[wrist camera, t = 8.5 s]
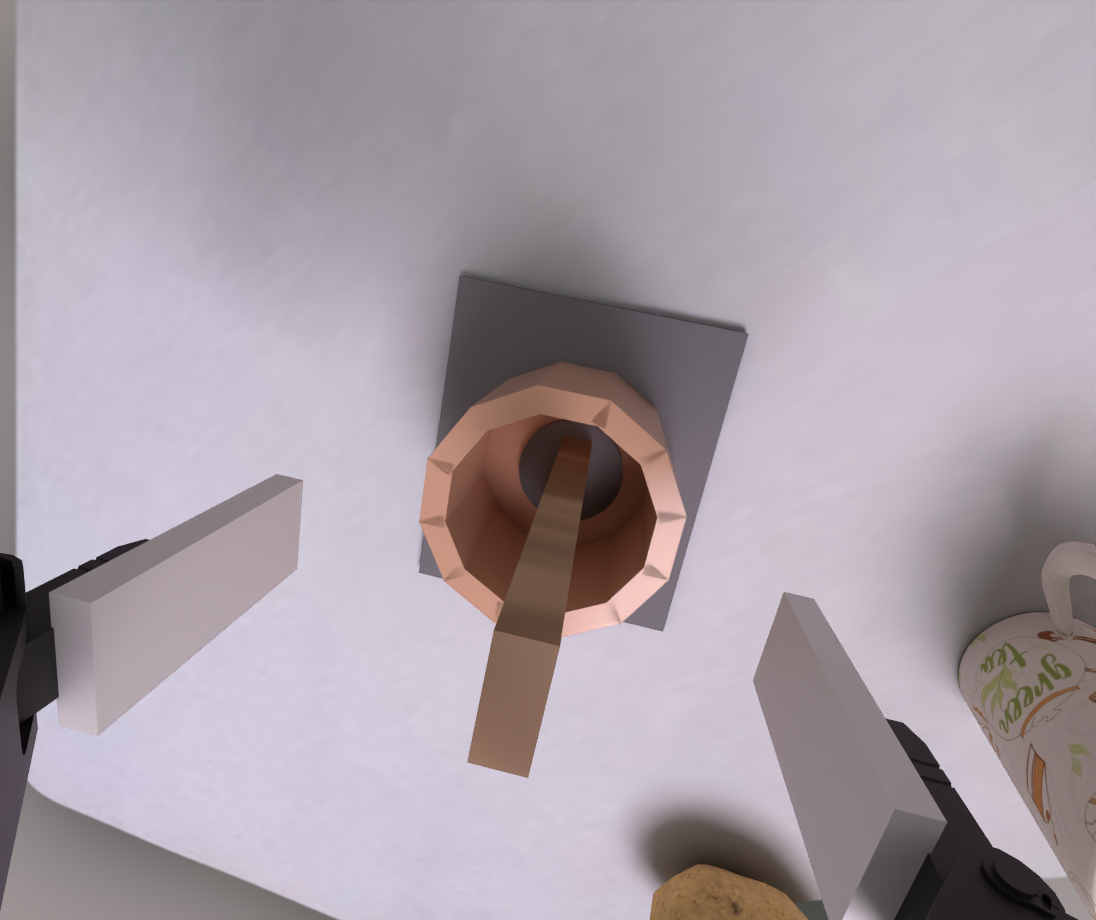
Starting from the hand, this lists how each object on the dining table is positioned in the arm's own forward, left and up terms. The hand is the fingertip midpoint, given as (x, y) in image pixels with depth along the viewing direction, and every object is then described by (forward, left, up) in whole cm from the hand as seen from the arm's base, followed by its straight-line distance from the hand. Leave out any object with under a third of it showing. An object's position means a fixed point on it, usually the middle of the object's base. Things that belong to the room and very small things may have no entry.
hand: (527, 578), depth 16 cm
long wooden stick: (0, 0, -10) cm, 10 cm away
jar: (0, 0, -11) cm, 11 cm away
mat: (0, 0, -11) cm, 11 cm away
